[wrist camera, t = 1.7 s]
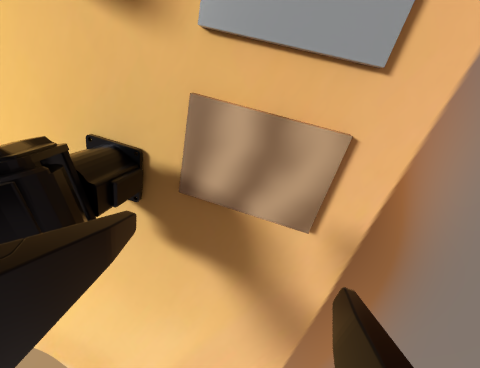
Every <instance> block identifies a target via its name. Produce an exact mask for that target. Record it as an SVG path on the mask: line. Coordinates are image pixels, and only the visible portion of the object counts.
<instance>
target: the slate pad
mask: <svg viewBox="0 0 480 368" xmlns="http://www.w3.org/2000/svg"><path fill="white" fill-rule="evenodd" d="M414 1H415V0H201V2H200V11H199V20H198V25H199V26H201V27H203V28H208V29H212V30H216V31H220V32H225V33H229V34H233V35H238V36H242V37H246V38H251V39H255V40H259V41H264V42H268V43H272V44H277V45H281V46H285V47H290V48H294V49H298V50H303V51H307V52H311V53H316V54H320V55H324V56H329V57H333V58H337V59H342V60H346V61H350V62H355V63H359V64H363V65H368V66H372V67H376V68H384V67H385V65H386V62H387V60H388V58H389V56H390V54H391V51H392V49H393V47H394V45H395V43H396V40H397V38H398V36H399V34H400V32H401V29H402V27H403V25H404V23H405V21H406V19H407V16H408V14H409V12H410V10H411V8H412V5H413V3H414Z"/></svg>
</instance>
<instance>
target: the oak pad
mask: <svg viewBox="0 0 480 368" xmlns="http://www.w3.org/2000/svg"><path fill="white" fill-rule="evenodd" d="M351 139H352V136H351V135H349V134H346V133H342V132H338V131H334V130H331V129H327V128H323V127H319V126H316V125H312V124H308V123H304V122H301V121H297V120H293V119H289V118H286V117H282V116H278V115H274V114H271V113H267V112H263V111H259V110H256V109H252V108H248V107H244V106H241V105H237V104H233V103H229V102H226V101H222V100H218V99H215V98H211V97H207V96H203V95H200V94H196V93H190V99H189V107H188V116H187V125H186V134H185V142H184V151H183V160H182V169H181V177H180V186H179V192H180V193H183V194H186V195H189V196H193V197H196V198H199V199H202V200H205V201H208V202H211V203H214V204H217V205H220V206H224V207H227V208H230V209H233V210H236V211H239V212H242V213H245V214H248V215H252V216H255V217H258V218H261V219H264V220H267V221H270V222H273V223H276V224H280V225H283V226H286V227H289V228H292V229H295V230H298V231H301V232H304V233H307V234H308V233H309V231H310V229H311V227H312V224H313V222H314V220H315V218H316V216H317V213H318V211H319V209H320V207H321V205H322V202H323V200H324V198H325V196H326V194H327V192H328V189H329V187H330V185H331V183H332V181H333V178H334V176H335V174H336V172H337V170H338V167H339V165H340V163H341V161H342V159H343V156H344V154H345V152H346V150H347V148H348V146H349V143H350V141H351Z"/></svg>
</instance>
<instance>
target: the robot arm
mask: <svg viewBox="0 0 480 368" xmlns="http://www.w3.org/2000/svg"><path fill="white" fill-rule="evenodd" d="M91 139H92V140H91ZM86 147H87V149H86V150H82V151H79V152H76V153H72V154H69V152H68V150H69V148H68V146H67V144H56V143H54V142H52V141H50V140H49V139H48V138H46V137H45V136H42V137H36V138H31V139H25V140H20V141H16V142H11V143H8V144H4V145H1V146H0V368H15V367H16V366H17V365H18V364H19V363H20V361H21V360H22V359H23V358H24V357H25V356H26V355H27V354H28V353H29V352H30V351H31V350H32V349H33V348H34V346H35V345H36V344H37V343H38V342H39V341H40V340H41V339H42V338H43V337H44V336H45V335H46V333H47V332H48V331H49V330H50V329H51V328H52V327H53V326H54V325H55V324H56V323H57V322H58V321H59V319H60V318H61V317H62V316H63V315H64V314H65V313H66V312H67V311H68V310H69V309H70V308H71V306H72V305H73V304H74V303H75V302H76V301H77V300H78V299H79V298H80V297H81V296H82V295H83V294H84V292H85V291H86V290H87V289H88V288H89V287H90V286H91V285H92V284H93V283H94V282H95V281H96V279H97V278H98V277H99V276H100V275H101V274H102V273H103V272H104V271H105V270H106V269H107V268H108V267H109V265H110V264H111V263H112V262H113V261H114V259H115V258H116V257H117V256H118V254H119V253H120V252H121V250H122V249H123V248H124V246H125V245H126V244H127V242H128V241H129V240H130V238H131V237H132V236H133V234H134V233H135V231H136V214H135V213H132V212H129V211H124V212H120V213H116V214H113V215H109V216H105V217H101V218H98V219H96V217H98V216H100V215H101V214H103V213H104V212H106V211H107V210H109V209H110V208H112V207H118V206H119V205H121V204H122V203H124V202H125V201H127V200H131V201H134V202H139V201H140V200H141V196H142V182H143V170H142V161H143V153H142V151H141V150H140V149H139V148H136V147H132V146H129V145H126V144H123V143H119V142H116V141H113V140H110V139H106V138H103V137H100V136H96V135H93V134H90V135H87V136H86ZM136 152H137V153H138V155H137V153H136ZM136 197H137V198H136ZM95 216H96V217H95ZM333 354H334V364H335V368H414V367H413V366H412V365H411V364H410V362H409V361H408V360H407V358H406V357H405V356H404V354H403V353H402V352H401V351H400V349H399V348H398V347H397V345H396V344H395V343H394V341H393V340H392V339H391V338H390V336H389V335H388V334H387V332H386V331H385V330H384V328H383V327H382V326H381V325H380V323H379V322H378V321H377V320H376V318H375V317H374V316H373V314H372V313H371V312H370V310H369V309H368V308H367V306H366V305H365V304H364V303H363V301H362V300H361V299H360V298H359V296H358V295H357V294H356V292H355V291H353V290H351V289H348V288H346V287H343V288H341V290H340V291H339V293H338V294H337V296H336V298H335V299H334V301H333Z"/></svg>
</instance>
